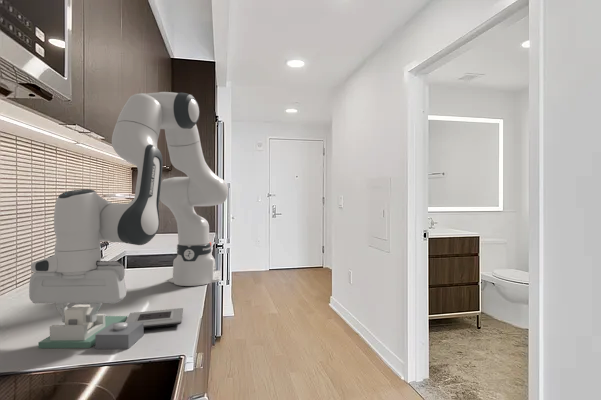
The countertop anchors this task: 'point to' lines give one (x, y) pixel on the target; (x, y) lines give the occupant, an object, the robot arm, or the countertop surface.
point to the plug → (78, 315)
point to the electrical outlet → (157, 317)
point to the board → (78, 333)
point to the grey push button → (119, 335)
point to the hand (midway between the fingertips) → (79, 321)
